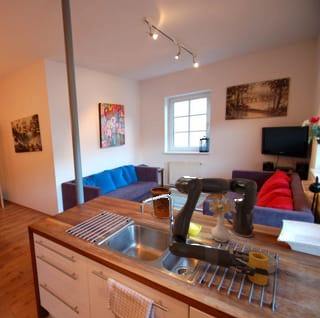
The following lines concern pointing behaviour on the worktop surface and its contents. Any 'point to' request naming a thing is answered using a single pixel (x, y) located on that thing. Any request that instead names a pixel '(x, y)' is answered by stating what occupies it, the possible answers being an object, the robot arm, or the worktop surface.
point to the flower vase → (221, 217)
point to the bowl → (272, 260)
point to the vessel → (161, 203)
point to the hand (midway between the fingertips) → (265, 267)
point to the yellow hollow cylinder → (259, 262)
